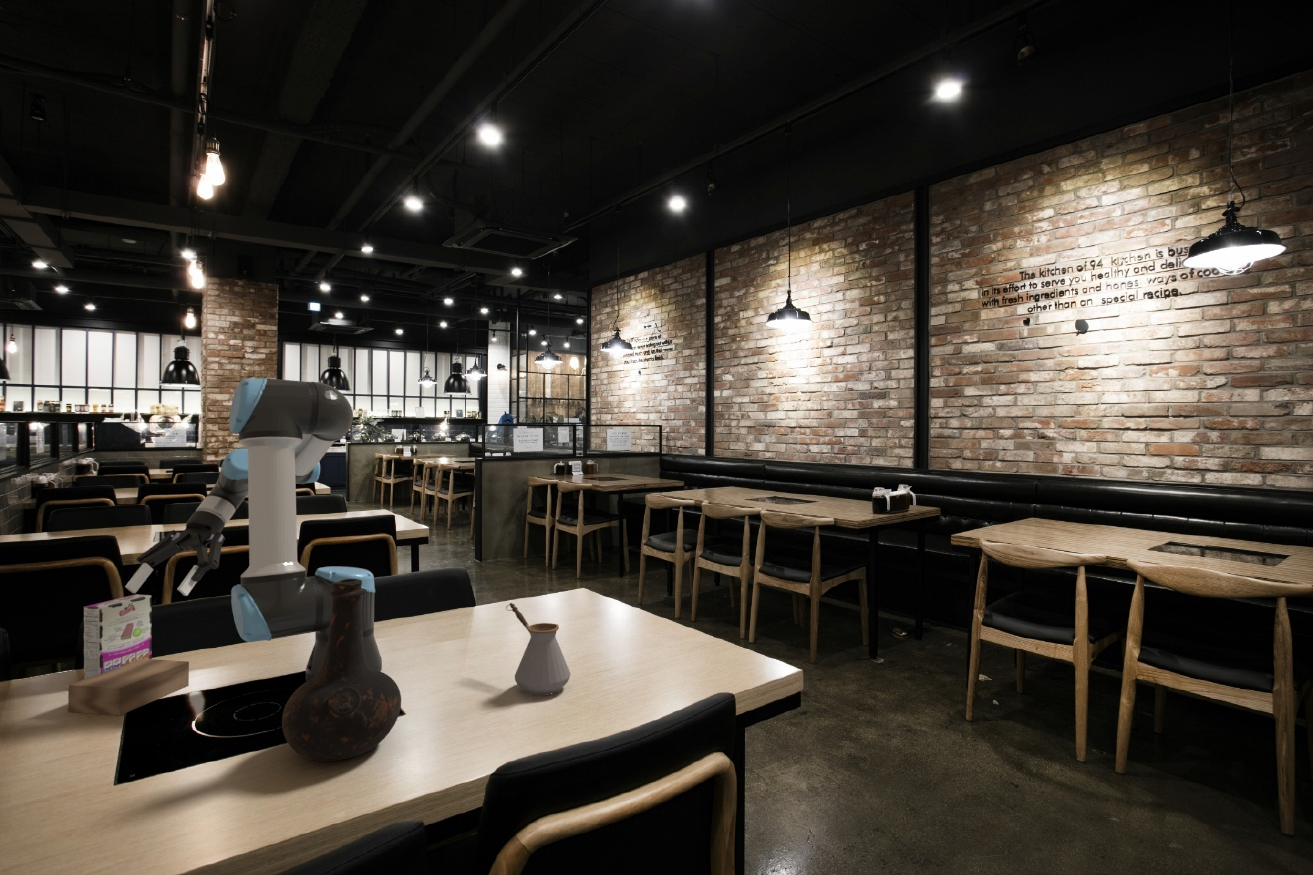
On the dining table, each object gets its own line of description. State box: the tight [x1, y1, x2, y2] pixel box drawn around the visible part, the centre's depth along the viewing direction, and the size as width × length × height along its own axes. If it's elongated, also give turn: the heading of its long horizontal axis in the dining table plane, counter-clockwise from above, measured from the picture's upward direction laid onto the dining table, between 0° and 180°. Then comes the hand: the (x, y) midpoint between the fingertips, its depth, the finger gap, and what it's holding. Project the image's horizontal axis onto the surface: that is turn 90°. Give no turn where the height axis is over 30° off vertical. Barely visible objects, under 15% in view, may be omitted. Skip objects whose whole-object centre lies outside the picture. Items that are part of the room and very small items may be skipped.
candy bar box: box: [83, 593, 153, 680], centre depth 140 cm, size 11×5×16 cm, turn 168°
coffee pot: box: [505, 602, 571, 697], centre depth 139 cm, size 21×12×15 cm, turn 39°
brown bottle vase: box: [281, 579, 402, 762], centre depth 108 cm, size 18×18×28 cm
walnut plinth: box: [67, 658, 190, 716], centre depth 128 cm, size 11×15×5 cm
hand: (155, 591), depth 149 cm, fingers open, 13 cm apart
